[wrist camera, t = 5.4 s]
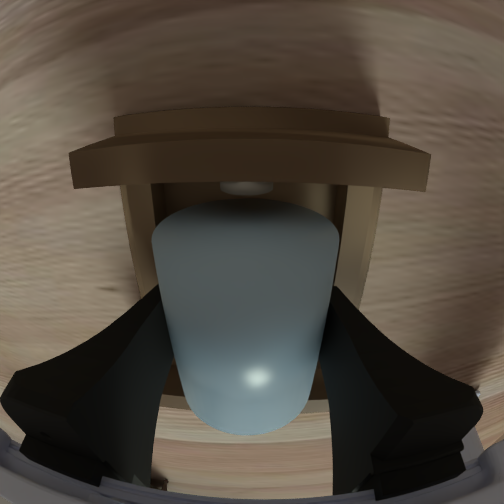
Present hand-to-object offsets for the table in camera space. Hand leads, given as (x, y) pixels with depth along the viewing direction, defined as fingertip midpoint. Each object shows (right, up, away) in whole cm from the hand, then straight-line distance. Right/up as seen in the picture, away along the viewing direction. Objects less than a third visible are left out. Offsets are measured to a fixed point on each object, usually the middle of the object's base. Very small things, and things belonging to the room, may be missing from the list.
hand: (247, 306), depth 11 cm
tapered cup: (0, +1, +1) cm, 2 cm away
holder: (0, +2, +3) cm, 4 cm away
